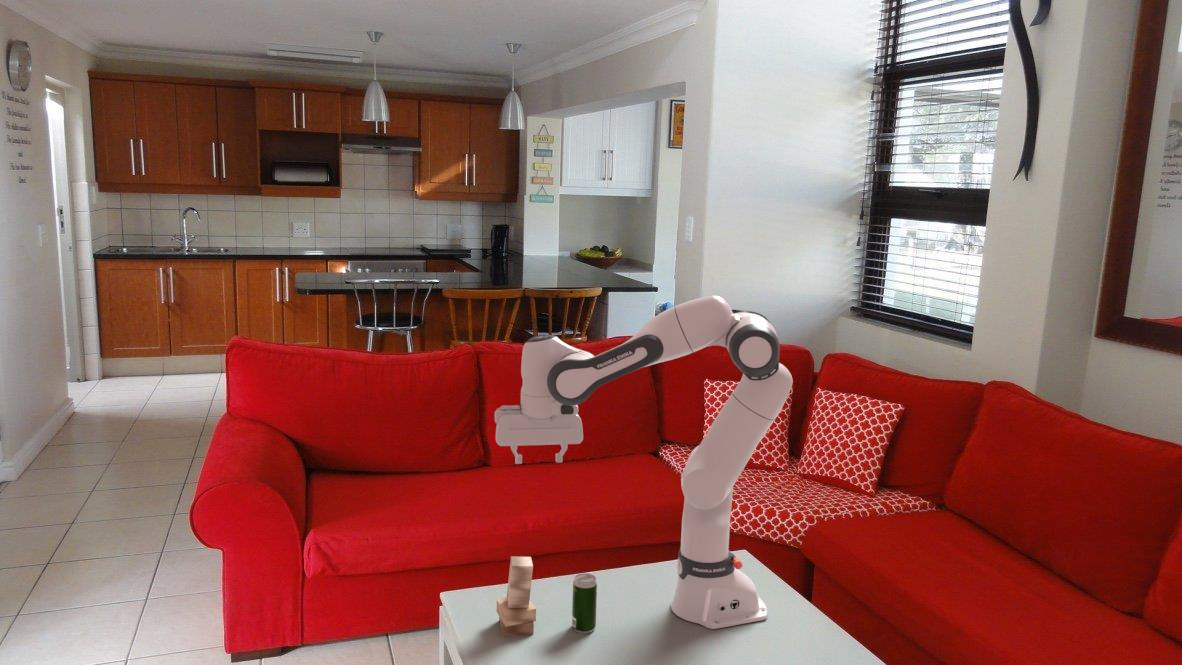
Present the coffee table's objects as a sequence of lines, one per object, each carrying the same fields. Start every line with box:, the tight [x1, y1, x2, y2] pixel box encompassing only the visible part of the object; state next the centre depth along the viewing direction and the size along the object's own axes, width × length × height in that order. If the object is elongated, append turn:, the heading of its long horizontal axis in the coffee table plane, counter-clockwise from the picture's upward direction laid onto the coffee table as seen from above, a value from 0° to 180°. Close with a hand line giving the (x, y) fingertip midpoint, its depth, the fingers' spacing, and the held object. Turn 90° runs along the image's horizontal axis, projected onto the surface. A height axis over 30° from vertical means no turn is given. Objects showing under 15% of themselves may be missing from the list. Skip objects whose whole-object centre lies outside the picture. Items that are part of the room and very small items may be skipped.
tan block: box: [506, 556, 534, 608], centre depth 186 cm, size 4×4×10 cm
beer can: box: [571, 572, 598, 635], centre depth 187 cm, size 5×5×12 cm
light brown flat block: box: [498, 617, 535, 638], centre depth 188 cm, size 7×7×3 cm
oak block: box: [496, 597, 537, 627], centre depth 187 cm, size 7×7×3 cm
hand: (538, 462), depth 196 cm, fingers open, 8 cm apart
